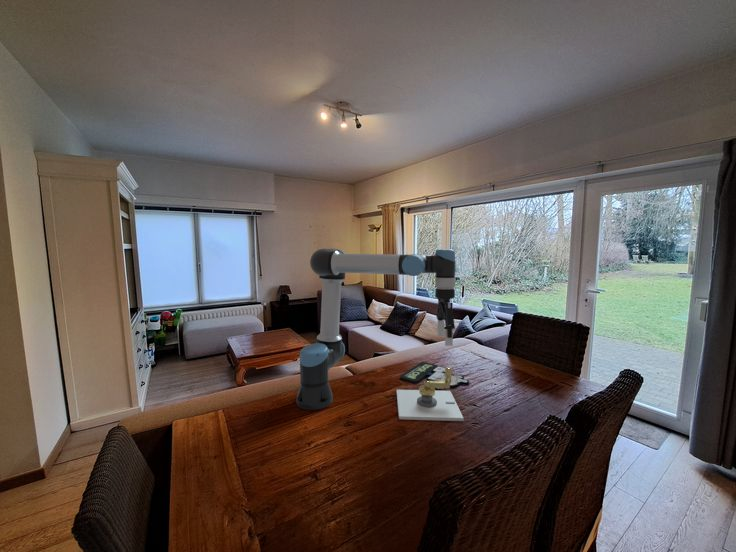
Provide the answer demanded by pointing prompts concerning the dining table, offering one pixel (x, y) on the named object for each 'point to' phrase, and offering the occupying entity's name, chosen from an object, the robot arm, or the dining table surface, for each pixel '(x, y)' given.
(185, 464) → the dining table surface
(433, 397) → the post board
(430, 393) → the brass lever knob
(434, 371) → the sign
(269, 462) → the dining table surface
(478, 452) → the dining table surface
